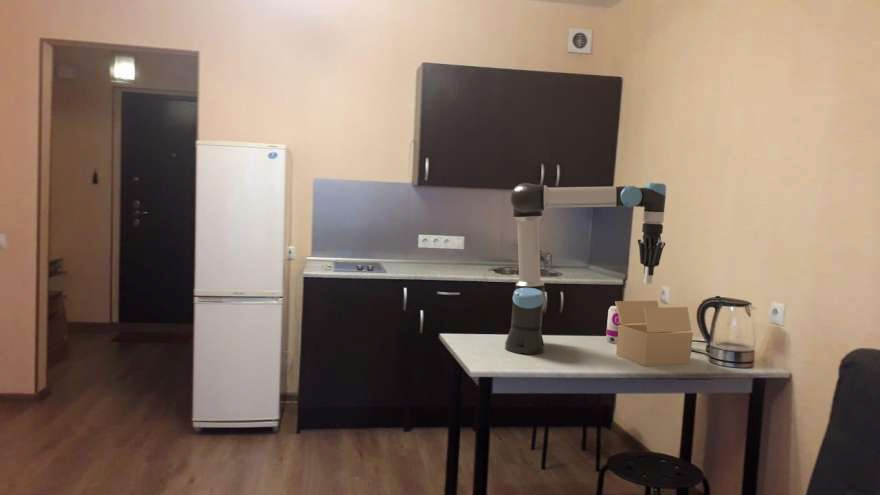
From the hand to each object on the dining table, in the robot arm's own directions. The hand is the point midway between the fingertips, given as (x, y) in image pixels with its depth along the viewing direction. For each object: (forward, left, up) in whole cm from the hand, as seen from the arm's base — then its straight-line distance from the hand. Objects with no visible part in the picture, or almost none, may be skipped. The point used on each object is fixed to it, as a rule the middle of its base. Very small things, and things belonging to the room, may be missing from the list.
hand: (647, 283), depth 250 cm
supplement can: (+4, +21, -29) cm, 36 cm away
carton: (0, -6, -29) cm, 29 cm away
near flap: (0, -12, -12) cm, 17 cm away
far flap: (0, +3, -12) cm, 12 cm away
